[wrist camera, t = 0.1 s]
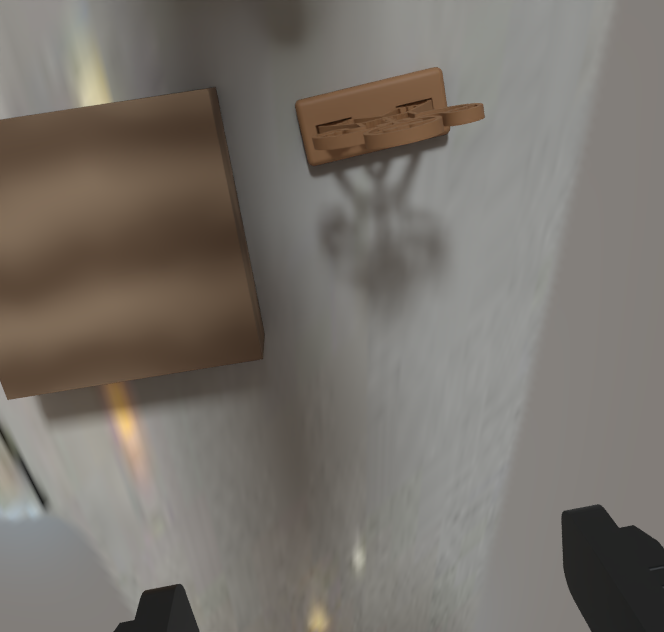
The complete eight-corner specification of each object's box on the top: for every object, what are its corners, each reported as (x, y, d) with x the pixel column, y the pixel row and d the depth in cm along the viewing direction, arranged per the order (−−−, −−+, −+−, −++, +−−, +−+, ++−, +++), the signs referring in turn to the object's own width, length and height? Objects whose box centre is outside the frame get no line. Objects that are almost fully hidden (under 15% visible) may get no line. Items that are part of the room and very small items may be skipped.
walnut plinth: (-57, 128, 36) (-96, 134, 32) (215, 87, 36) (207, 88, 32) (32, 370, 42) (7, 399, 38) (264, 333, 42) (262, 359, 38)
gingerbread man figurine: (308, 165, 38) (319, 203, 27) (293, 101, 36) (298, 112, 25) (448, 132, 38) (517, 156, 27) (438, 66, 36) (507, 62, 25)
